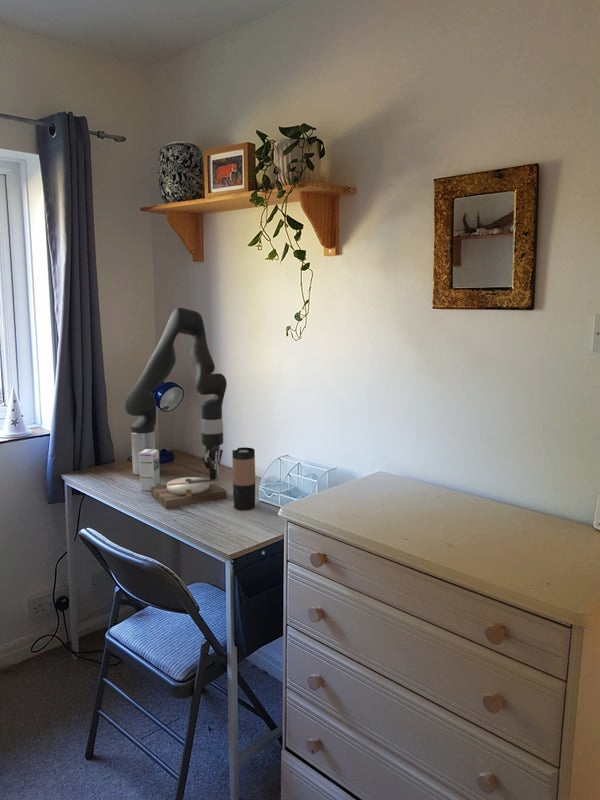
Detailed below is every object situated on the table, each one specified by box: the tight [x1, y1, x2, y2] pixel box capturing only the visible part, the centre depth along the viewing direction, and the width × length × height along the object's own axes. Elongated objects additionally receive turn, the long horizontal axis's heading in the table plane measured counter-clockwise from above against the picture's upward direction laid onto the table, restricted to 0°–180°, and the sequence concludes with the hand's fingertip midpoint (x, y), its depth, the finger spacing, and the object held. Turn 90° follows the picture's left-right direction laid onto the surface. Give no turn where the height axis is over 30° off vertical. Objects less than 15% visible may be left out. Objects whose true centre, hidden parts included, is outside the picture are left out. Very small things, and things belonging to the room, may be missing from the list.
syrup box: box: [139, 448, 162, 492], centre depth 239 cm, size 6×6×14 cm
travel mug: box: [231, 446, 256, 511], centre depth 217 cm, size 8×8×20 cm
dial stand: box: [150, 481, 228, 510], centre depth 229 cm, size 18×22×5 cm
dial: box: [166, 465, 220, 495], centre depth 229 cm, size 19×15×8 cm
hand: (213, 478), depth 226 cm, fingers closed
